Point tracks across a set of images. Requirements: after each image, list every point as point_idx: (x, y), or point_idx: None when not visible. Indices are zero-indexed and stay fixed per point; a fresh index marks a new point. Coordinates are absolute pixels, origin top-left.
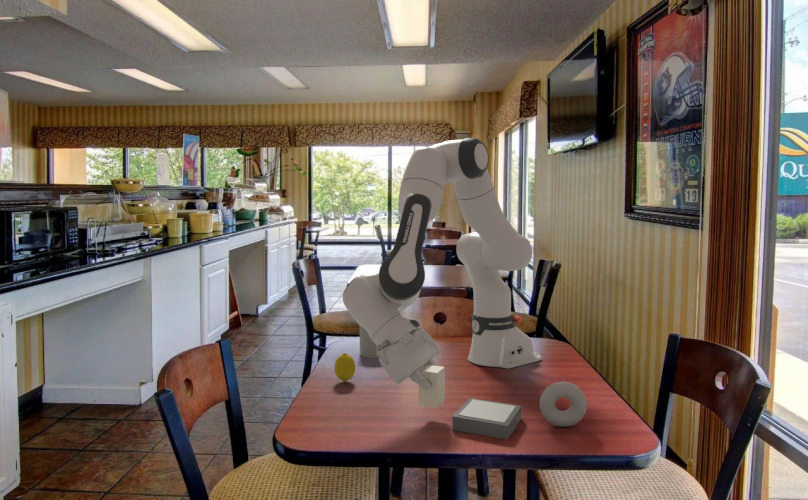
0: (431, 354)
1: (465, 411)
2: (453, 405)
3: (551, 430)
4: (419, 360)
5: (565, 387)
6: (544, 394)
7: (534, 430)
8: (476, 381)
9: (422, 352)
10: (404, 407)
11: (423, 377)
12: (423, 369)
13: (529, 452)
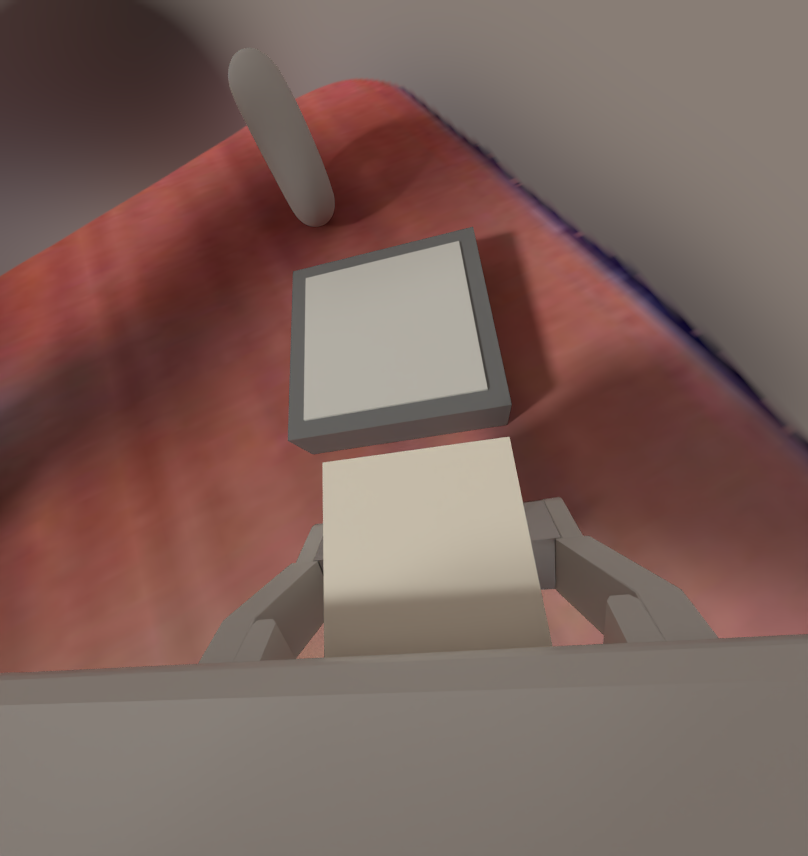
0: (152, 696)
1: (440, 382)
2: (290, 532)
3: (353, 220)
4: (548, 725)
5: (270, 59)
6: (297, 136)
7: (373, 246)
8: (33, 565)
9: (252, 847)
10: None
11: (595, 556)
12: (493, 624)
13: (513, 197)
